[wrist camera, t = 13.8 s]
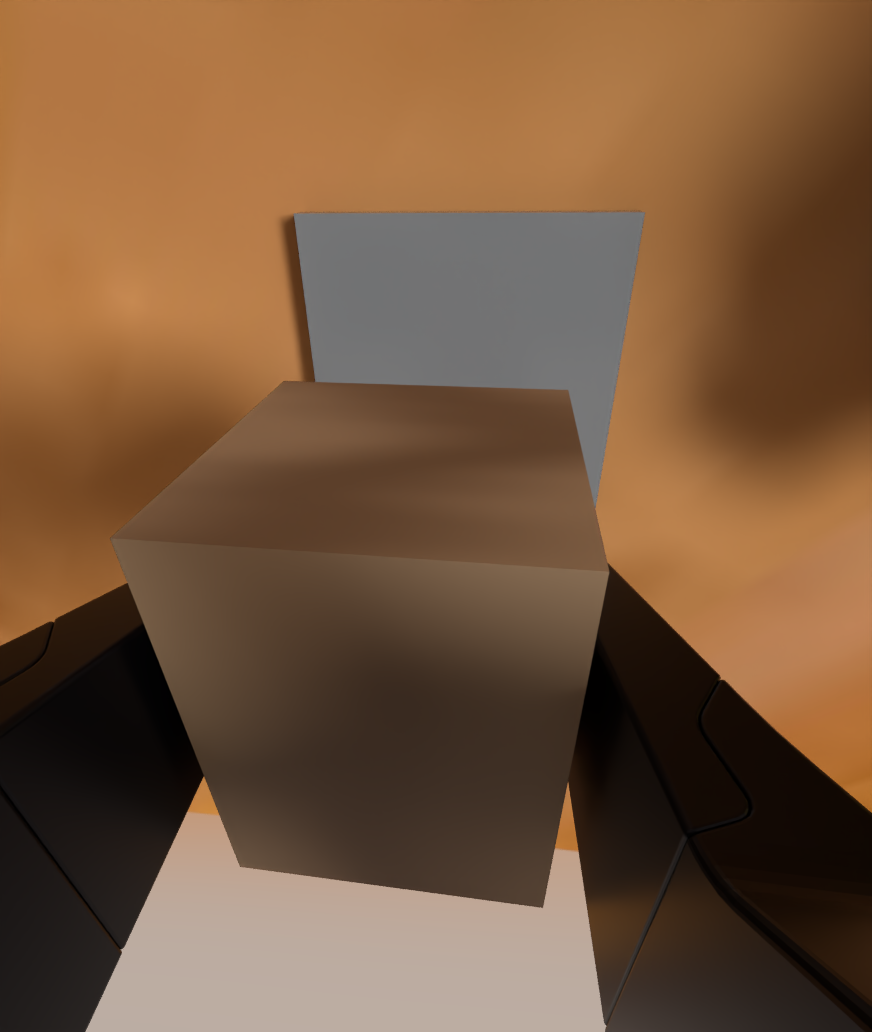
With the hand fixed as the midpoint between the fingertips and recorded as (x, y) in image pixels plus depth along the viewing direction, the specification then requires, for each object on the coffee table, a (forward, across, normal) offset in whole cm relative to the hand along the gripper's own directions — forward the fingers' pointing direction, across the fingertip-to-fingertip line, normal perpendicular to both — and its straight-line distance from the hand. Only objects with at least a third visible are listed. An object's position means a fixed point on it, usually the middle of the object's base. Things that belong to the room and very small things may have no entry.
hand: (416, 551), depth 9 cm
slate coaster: (+9, 0, 0) cm, 9 cm away
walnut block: (+1, 0, 0) cm, 1 cm away
